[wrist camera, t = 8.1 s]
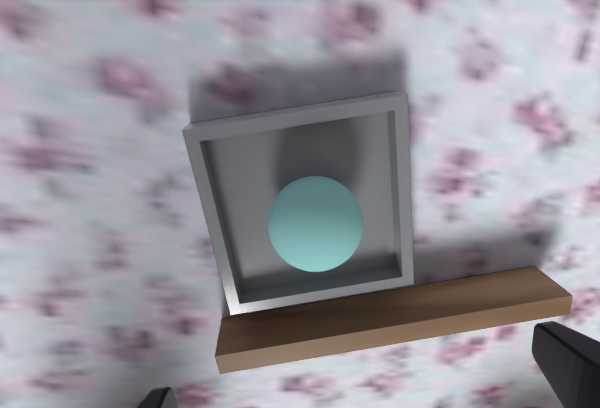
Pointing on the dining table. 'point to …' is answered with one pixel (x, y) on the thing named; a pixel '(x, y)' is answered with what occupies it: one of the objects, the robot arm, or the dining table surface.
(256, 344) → the rail
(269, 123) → the tray
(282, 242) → the ball
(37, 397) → the dining table surface
